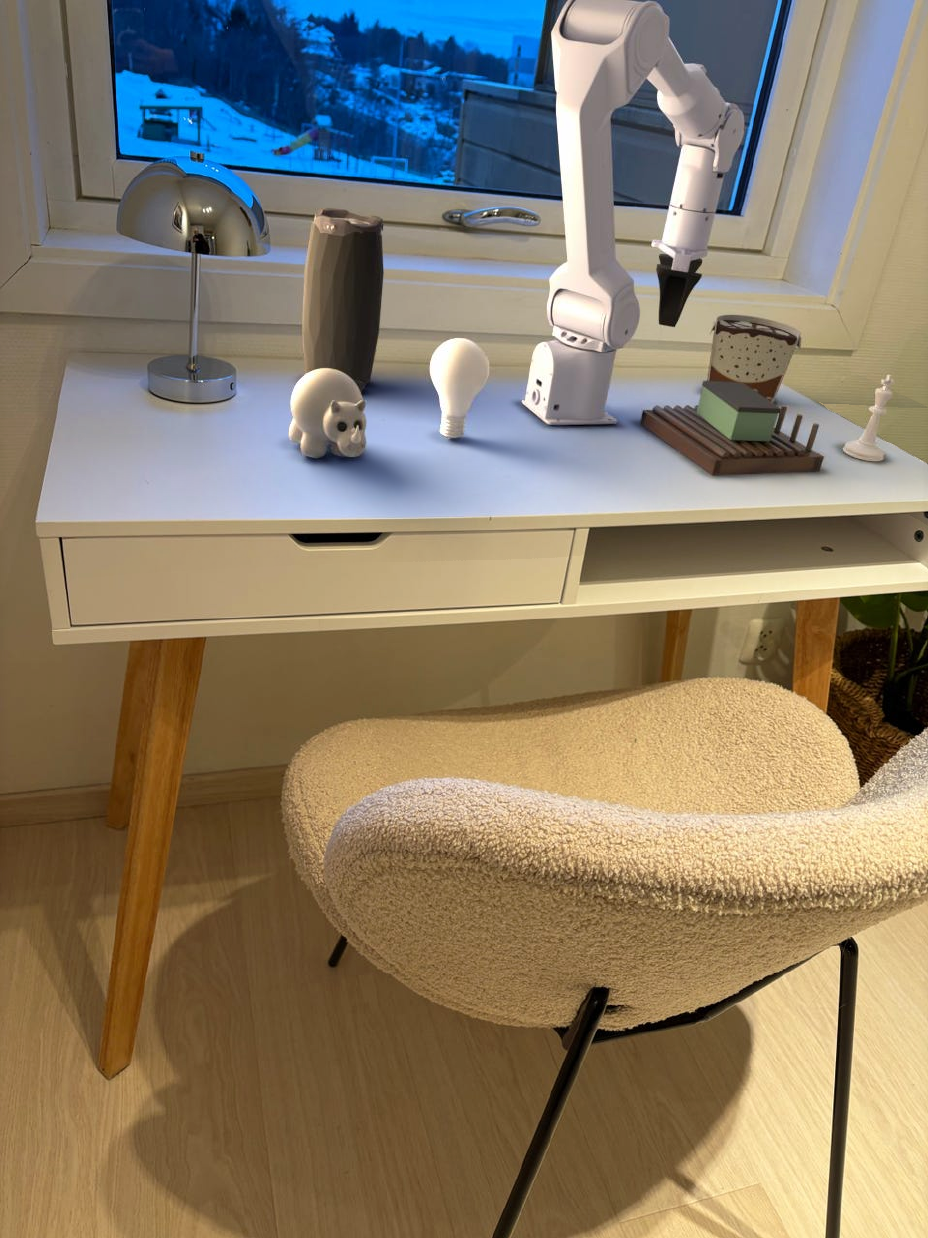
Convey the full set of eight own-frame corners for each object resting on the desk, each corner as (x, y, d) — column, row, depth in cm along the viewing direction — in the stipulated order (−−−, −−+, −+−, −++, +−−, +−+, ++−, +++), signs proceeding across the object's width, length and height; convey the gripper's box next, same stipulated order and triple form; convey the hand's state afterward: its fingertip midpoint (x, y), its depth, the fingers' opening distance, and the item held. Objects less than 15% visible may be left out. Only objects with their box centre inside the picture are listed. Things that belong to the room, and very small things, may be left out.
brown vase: (385, 384, 125) (401, 218, 116) (347, 402, 118) (360, 226, 108) (326, 367, 128) (336, 203, 118) (285, 384, 120) (292, 210, 111)
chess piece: (834, 447, 126) (859, 368, 121) (864, 445, 128) (890, 368, 123) (861, 462, 122) (889, 381, 117) (892, 460, 124) (920, 381, 119)
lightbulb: (488, 437, 114) (502, 340, 108) (465, 453, 108) (478, 352, 103) (437, 423, 115) (449, 327, 110) (412, 438, 110) (423, 338, 105)
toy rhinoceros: (316, 486, 96) (321, 399, 92) (280, 439, 105) (282, 358, 101) (386, 481, 99) (394, 397, 95) (345, 436, 108) (350, 358, 104)
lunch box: (729, 440, 115) (739, 406, 113) (695, 412, 123) (703, 380, 121) (771, 441, 117) (781, 408, 115) (734, 414, 125) (743, 382, 122)
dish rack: (711, 475, 112) (723, 432, 110) (639, 423, 125) (648, 384, 122) (819, 470, 118) (833, 430, 115) (740, 422, 130) (750, 384, 128)
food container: (775, 392, 145) (796, 321, 140) (783, 405, 139) (805, 332, 134) (690, 379, 145) (707, 308, 140) (694, 391, 140) (712, 319, 135)
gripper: (662, 196, 132) (640, 302, 139) (658, 210, 119) (634, 325, 126) (716, 204, 131) (691, 310, 138) (717, 219, 118) (690, 335, 125)
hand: (667, 318), depth 132 cm, fingers open, 7 cm apart
